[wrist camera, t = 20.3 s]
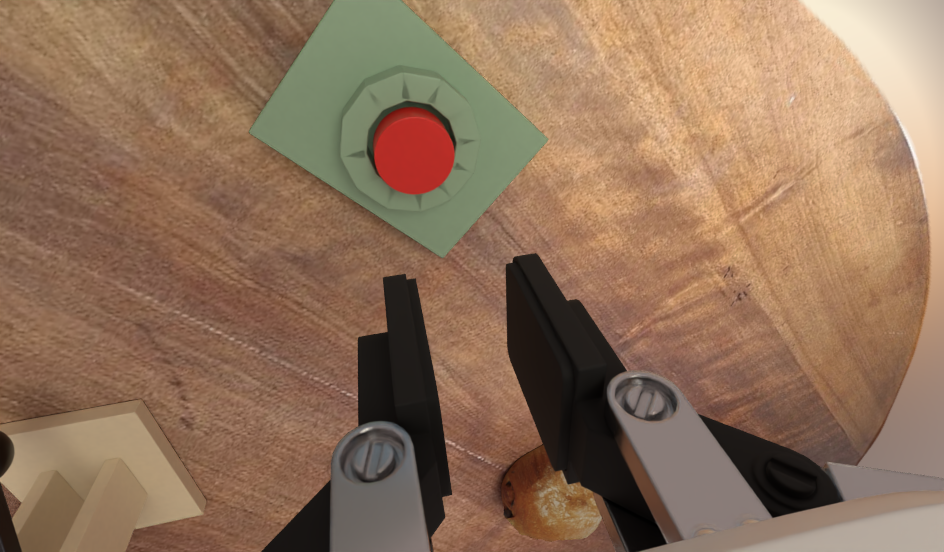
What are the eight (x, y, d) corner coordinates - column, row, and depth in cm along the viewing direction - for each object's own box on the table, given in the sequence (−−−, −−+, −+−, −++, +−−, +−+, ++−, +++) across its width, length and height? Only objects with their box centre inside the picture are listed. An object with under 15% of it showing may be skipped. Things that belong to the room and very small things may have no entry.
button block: (255, 120, 24) (240, 144, 21) (359, -39, 22) (359, -40, 18) (437, 241, 30) (447, 275, 27) (536, 128, 27) (561, 150, 24)
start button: (357, 151, 22) (357, 164, 21) (404, 89, 21) (407, 98, 20) (417, 194, 24) (421, 209, 23) (463, 139, 23) (470, 150, 22)
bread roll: (575, 458, 52) (637, 508, 46) (506, 528, 48) (563, 593, 42) (555, 402, 46) (623, 452, 40) (476, 477, 43) (537, 544, 37)
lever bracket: (-27, 428, 31) (-203, 644, 21) (141, 398, 32) (49, 587, 22) (71, 529, 37) (-29, 728, 28) (207, 500, 39) (157, 680, 29)
